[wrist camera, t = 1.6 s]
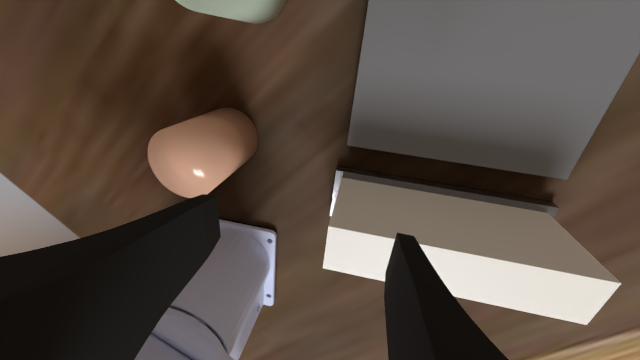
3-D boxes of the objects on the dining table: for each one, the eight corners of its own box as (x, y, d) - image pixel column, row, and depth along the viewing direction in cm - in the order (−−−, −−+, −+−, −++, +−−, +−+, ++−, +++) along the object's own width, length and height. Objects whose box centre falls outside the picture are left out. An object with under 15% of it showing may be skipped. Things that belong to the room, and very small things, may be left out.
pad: (559, 174, 18) (566, 179, 17) (347, 141, 20) (346, 145, 19) (722, -122, 12) (745, -133, 11) (389, -132, 13) (390, -142, 13)
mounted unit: (526, 247, 20) (592, 333, 14) (331, 210, 22) (313, 272, 16) (552, 201, 19) (639, 278, 12) (337, 165, 20) (320, 216, 14)
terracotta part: (258, 166, 22) (219, 204, 16) (207, 157, 22) (154, 191, 17) (258, 111, 20) (214, 134, 15) (202, 103, 20) (141, 122, 15)
